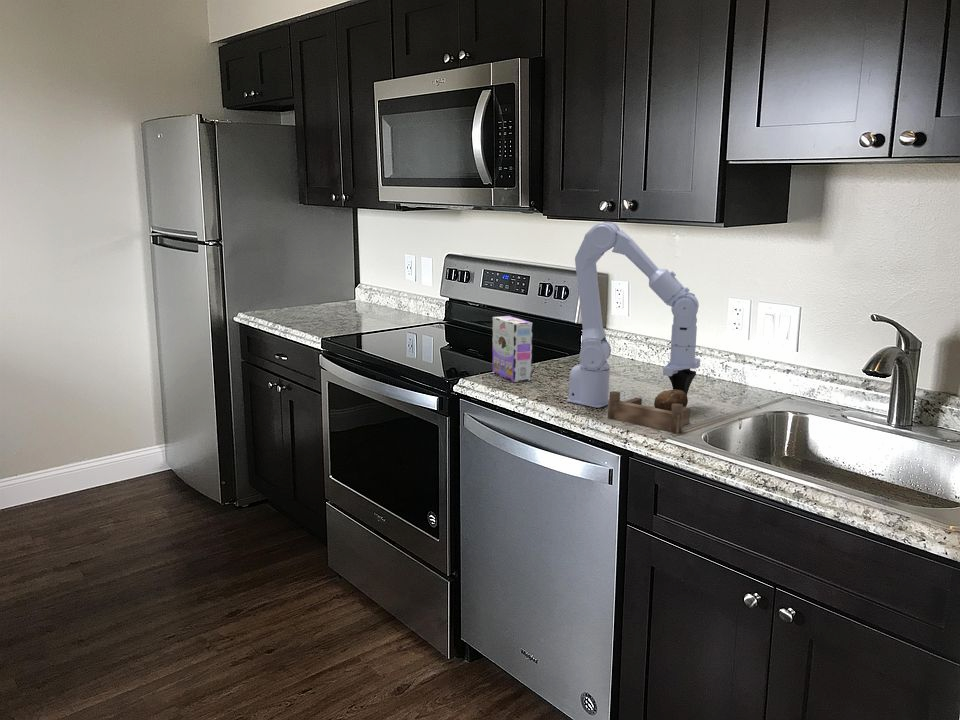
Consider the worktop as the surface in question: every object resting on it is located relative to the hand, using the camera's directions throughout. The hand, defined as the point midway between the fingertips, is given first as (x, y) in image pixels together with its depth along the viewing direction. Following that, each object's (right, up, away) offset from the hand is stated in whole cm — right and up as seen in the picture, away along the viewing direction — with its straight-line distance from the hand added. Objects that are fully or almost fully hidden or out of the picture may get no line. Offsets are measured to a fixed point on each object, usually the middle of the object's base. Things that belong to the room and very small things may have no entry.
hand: (680, 400), depth 200 cm
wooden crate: (-9, -4, -9) cm, 13 cm away
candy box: (-39, +5, +34) cm, 52 cm away
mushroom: (-3, -3, -3) cm, 5 cm away
